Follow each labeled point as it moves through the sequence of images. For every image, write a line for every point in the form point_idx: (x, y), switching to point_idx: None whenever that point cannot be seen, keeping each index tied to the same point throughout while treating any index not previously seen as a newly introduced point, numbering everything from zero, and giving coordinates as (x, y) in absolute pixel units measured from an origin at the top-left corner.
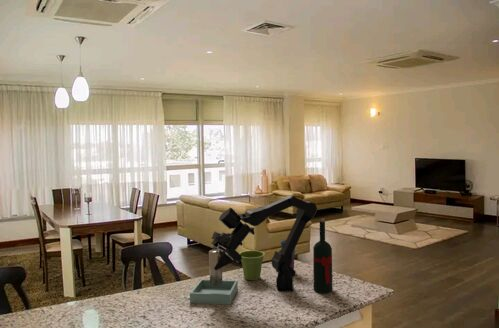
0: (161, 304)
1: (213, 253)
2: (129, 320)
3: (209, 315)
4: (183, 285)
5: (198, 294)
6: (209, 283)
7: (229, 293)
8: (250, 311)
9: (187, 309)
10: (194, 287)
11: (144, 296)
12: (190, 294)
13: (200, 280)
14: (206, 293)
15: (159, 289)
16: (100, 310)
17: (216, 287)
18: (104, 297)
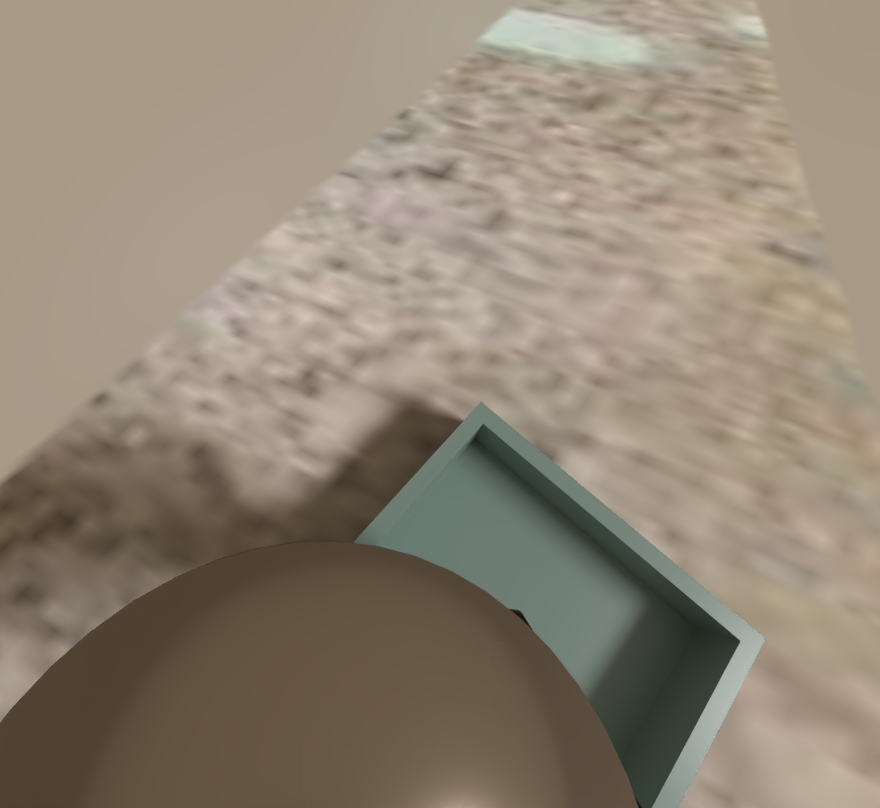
0: (540, 283)
1: (90, 648)
2: (433, 119)
3: (204, 436)
4: (817, 527)
5: (433, 455)
6: (684, 697)
7: None
8: None
9: (381, 367)
10: (581, 487)
11: (705, 256)
12: (475, 409)
13: (736, 620)
14: (394, 509)
15: (791, 360)
16: (612, 73)
17: (629, 745)
18: (769, 120)
